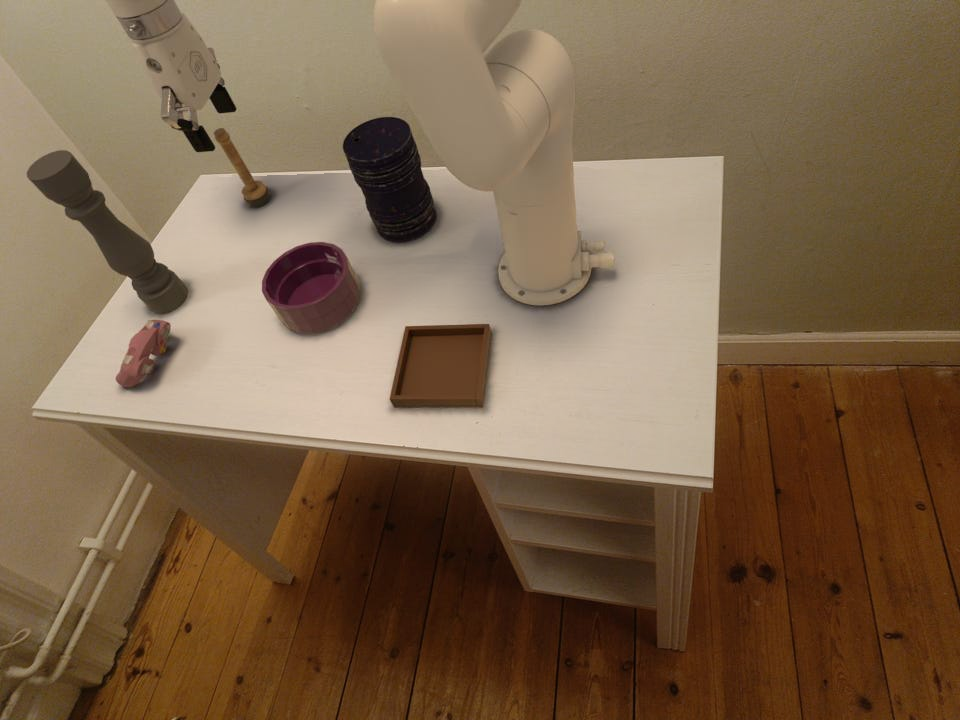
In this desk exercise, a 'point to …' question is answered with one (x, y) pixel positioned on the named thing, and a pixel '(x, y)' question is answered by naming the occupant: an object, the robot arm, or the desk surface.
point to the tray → (442, 367)
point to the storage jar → (391, 178)
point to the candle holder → (107, 230)
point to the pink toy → (143, 352)
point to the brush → (243, 172)
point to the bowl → (311, 287)
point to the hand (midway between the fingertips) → (217, 130)
